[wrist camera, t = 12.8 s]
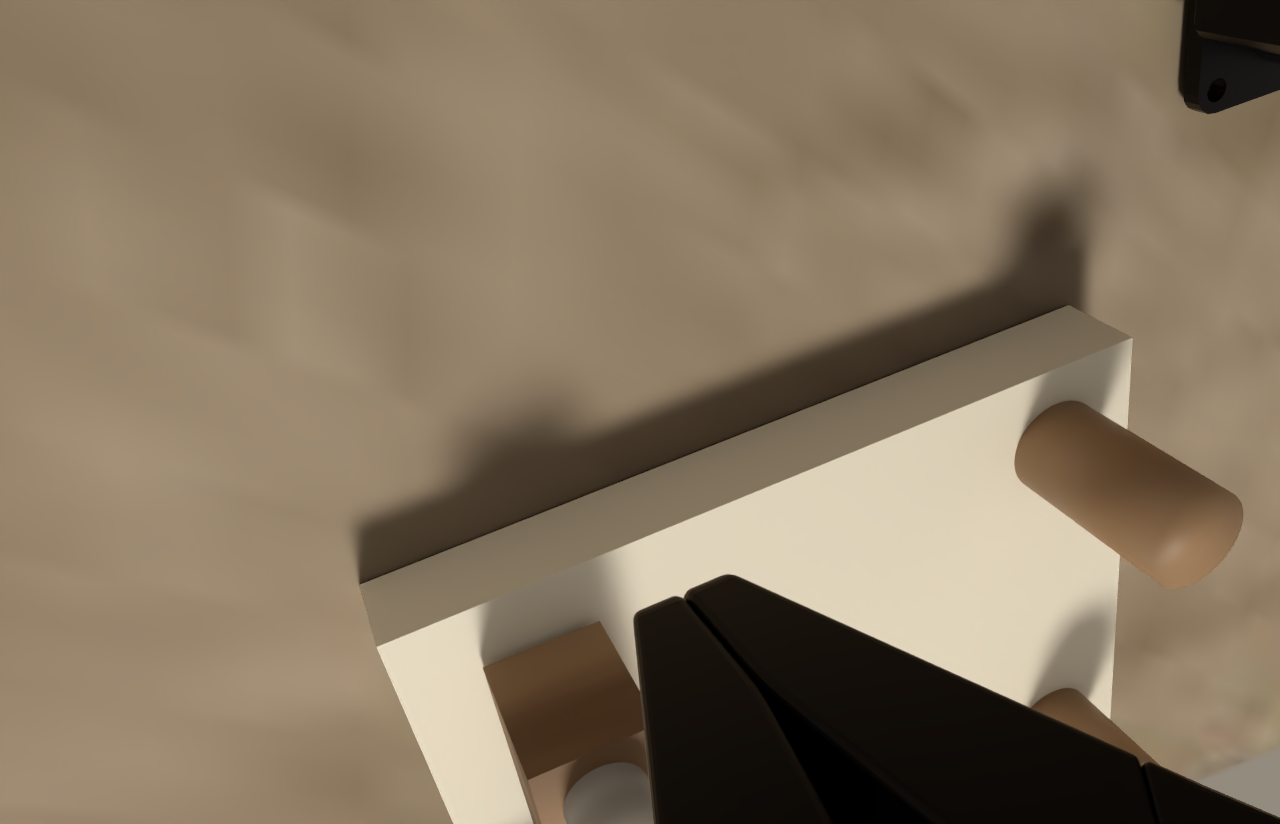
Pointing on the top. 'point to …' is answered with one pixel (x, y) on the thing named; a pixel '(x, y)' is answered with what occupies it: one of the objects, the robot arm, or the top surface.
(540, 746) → the hinged leg
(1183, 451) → the top surface
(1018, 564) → the white peg board
